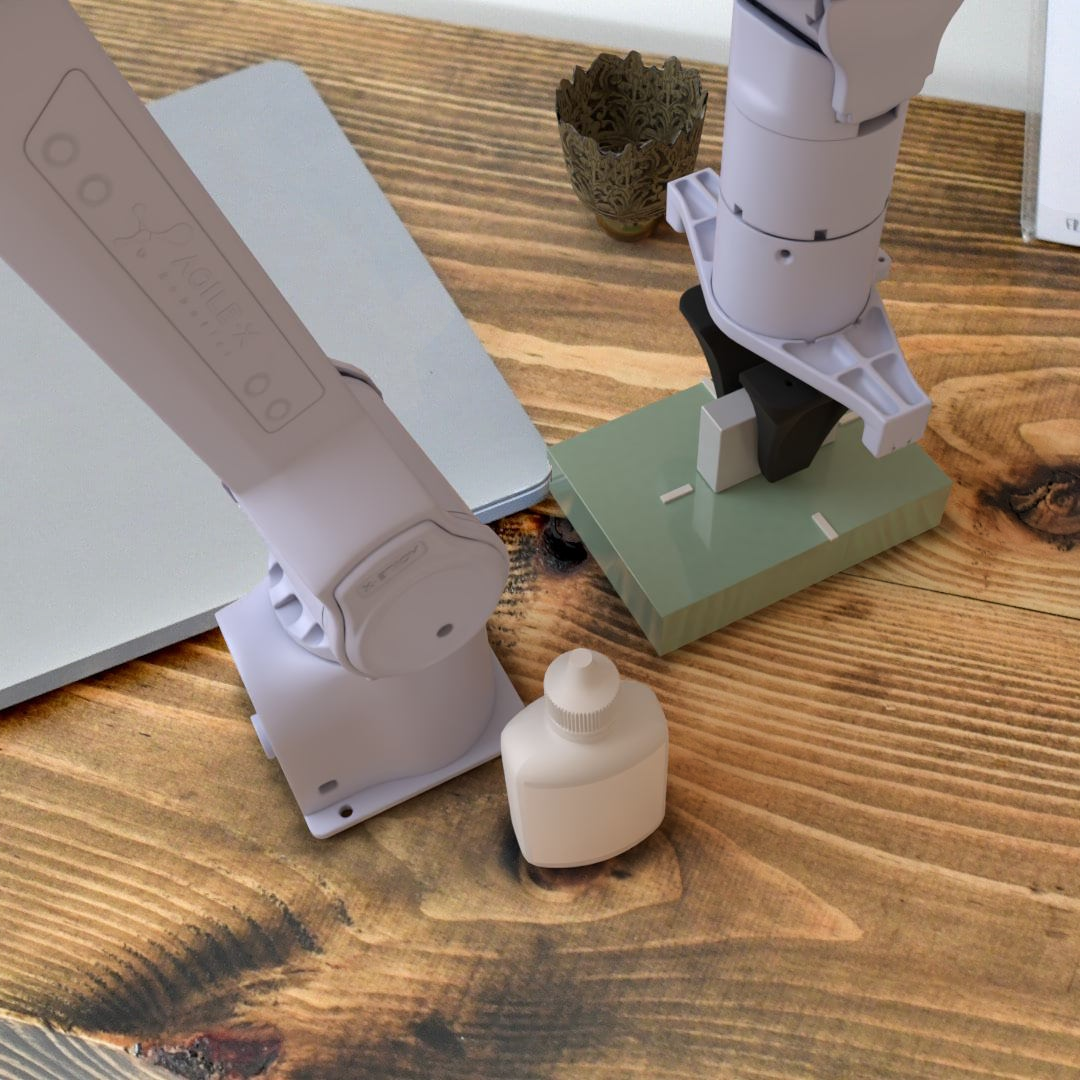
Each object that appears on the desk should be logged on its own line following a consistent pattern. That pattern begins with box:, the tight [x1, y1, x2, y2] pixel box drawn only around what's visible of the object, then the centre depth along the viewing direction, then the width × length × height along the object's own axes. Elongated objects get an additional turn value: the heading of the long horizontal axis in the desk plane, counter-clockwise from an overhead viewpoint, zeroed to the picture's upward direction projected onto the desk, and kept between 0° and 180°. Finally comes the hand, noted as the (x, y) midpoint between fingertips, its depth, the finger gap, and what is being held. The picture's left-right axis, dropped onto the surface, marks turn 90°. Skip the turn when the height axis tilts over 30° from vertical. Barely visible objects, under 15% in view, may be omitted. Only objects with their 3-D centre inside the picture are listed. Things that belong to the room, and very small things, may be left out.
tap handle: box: [697, 388, 839, 493], centre depth 54 cm, size 6×2×4 cm, turn 117°
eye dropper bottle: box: [501, 647, 670, 869], centre depth 45 cm, size 4×6×12 cm
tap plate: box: [545, 375, 954, 657], centre depth 57 cm, size 14×10×3 cm
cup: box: [554, 49, 709, 242], centre depth 66 cm, size 8×7×8 cm
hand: (767, 446), depth 55 cm, fingers closed
